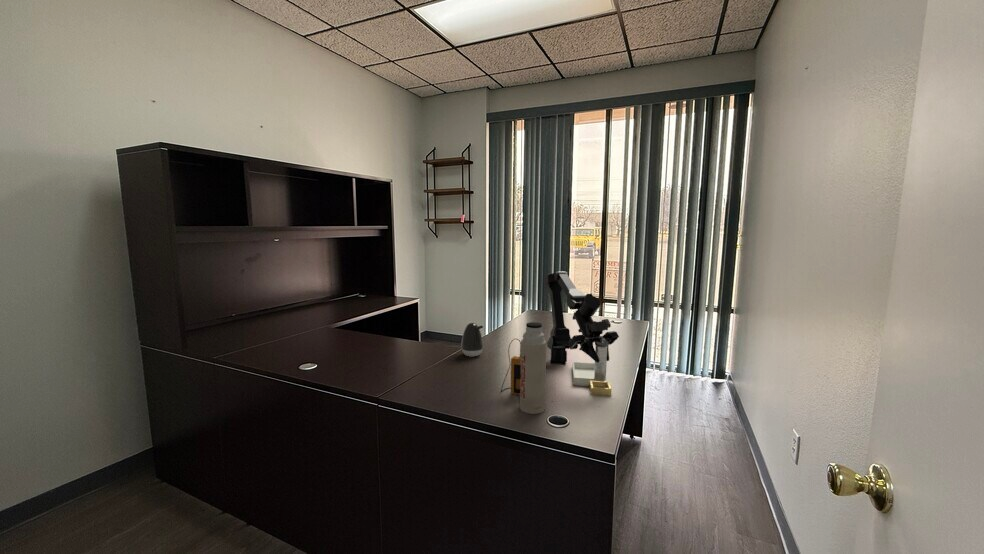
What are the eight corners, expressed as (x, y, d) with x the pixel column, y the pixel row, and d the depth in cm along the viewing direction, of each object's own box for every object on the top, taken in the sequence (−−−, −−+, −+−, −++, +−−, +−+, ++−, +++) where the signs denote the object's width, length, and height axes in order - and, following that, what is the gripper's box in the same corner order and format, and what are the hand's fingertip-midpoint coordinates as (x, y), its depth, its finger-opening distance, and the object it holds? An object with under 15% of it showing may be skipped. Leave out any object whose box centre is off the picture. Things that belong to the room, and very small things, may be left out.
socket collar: (591, 394, 137) (591, 387, 137) (589, 386, 144) (589, 380, 144) (611, 395, 136) (611, 389, 136) (608, 388, 143) (609, 381, 143)
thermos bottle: (522, 414, 122) (523, 326, 119) (518, 403, 130) (519, 320, 127) (547, 413, 123) (549, 326, 120) (541, 402, 131) (543, 320, 127)
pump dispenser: (478, 359, 174) (478, 326, 172) (457, 357, 178) (457, 324, 176) (486, 353, 183) (487, 321, 182) (466, 350, 187) (466, 319, 185)
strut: (594, 381, 137) (596, 342, 136) (592, 376, 142) (593, 339, 140) (607, 382, 137) (609, 343, 135) (605, 377, 142) (607, 339, 140)
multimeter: (546, 387, 143) (547, 334, 141) (541, 398, 134) (542, 341, 131) (508, 382, 148) (508, 331, 146) (500, 392, 138) (500, 337, 136)
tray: (573, 385, 146) (574, 377, 145) (572, 368, 163) (572, 361, 163) (602, 387, 144) (602, 379, 143) (597, 370, 162) (597, 363, 161)
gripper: (573, 313, 137) (591, 353, 128) (617, 309, 144) (636, 347, 135) (561, 329, 145) (577, 368, 136) (602, 325, 152) (620, 362, 143)
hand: (603, 361), depth 137 cm, fingers closed on strut, 4 cm apart
